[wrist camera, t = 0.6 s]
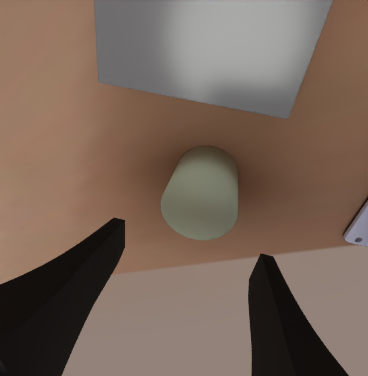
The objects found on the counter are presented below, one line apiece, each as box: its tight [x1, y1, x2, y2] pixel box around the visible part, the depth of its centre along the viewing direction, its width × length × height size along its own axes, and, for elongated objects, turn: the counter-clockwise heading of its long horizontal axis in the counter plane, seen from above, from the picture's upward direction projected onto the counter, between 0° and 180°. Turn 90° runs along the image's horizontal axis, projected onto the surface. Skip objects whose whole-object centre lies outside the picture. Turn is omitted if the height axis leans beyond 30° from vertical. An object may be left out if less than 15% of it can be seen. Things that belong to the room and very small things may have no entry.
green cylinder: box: [161, 146, 238, 240], centre depth 18 cm, size 5×5×5 cm
